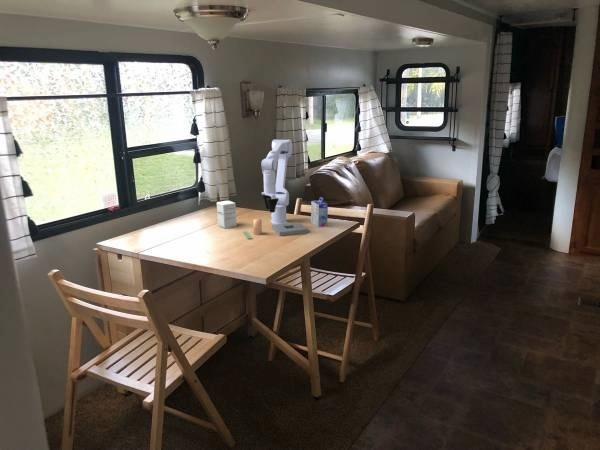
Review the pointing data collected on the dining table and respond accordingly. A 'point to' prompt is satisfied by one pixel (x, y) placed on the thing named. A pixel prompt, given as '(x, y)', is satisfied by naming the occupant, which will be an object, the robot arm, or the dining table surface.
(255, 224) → the plug
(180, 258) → the dining table surface
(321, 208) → the ink cartridge box
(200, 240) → the dining table surface
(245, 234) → the mat
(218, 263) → the dining table surface
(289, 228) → the grey socket board
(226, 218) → the supplement box
